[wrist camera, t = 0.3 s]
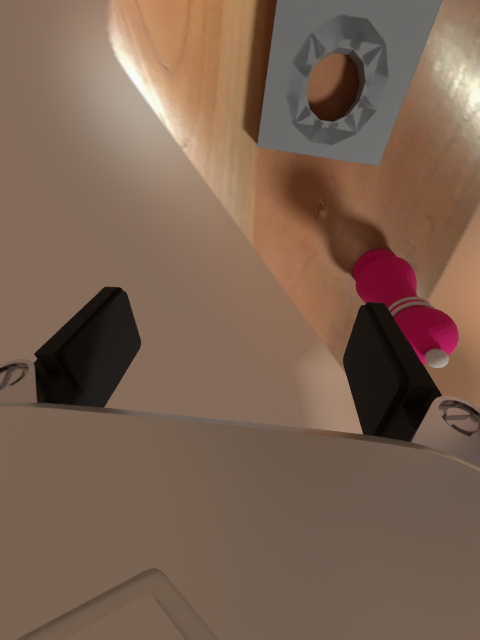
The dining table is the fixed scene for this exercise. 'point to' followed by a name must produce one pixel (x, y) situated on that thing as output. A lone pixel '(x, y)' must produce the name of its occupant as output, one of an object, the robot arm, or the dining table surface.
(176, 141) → the dining table surface
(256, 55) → the dining table surface
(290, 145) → the plate
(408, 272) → the pepper mill
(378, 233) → the dining table surface
